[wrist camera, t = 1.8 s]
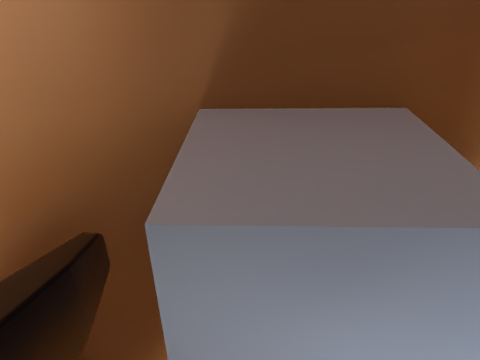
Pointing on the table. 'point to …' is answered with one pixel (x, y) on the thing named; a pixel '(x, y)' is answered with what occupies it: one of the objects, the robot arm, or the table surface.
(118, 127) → the table surface
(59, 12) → the table surface
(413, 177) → the blue cube
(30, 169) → the table surface
